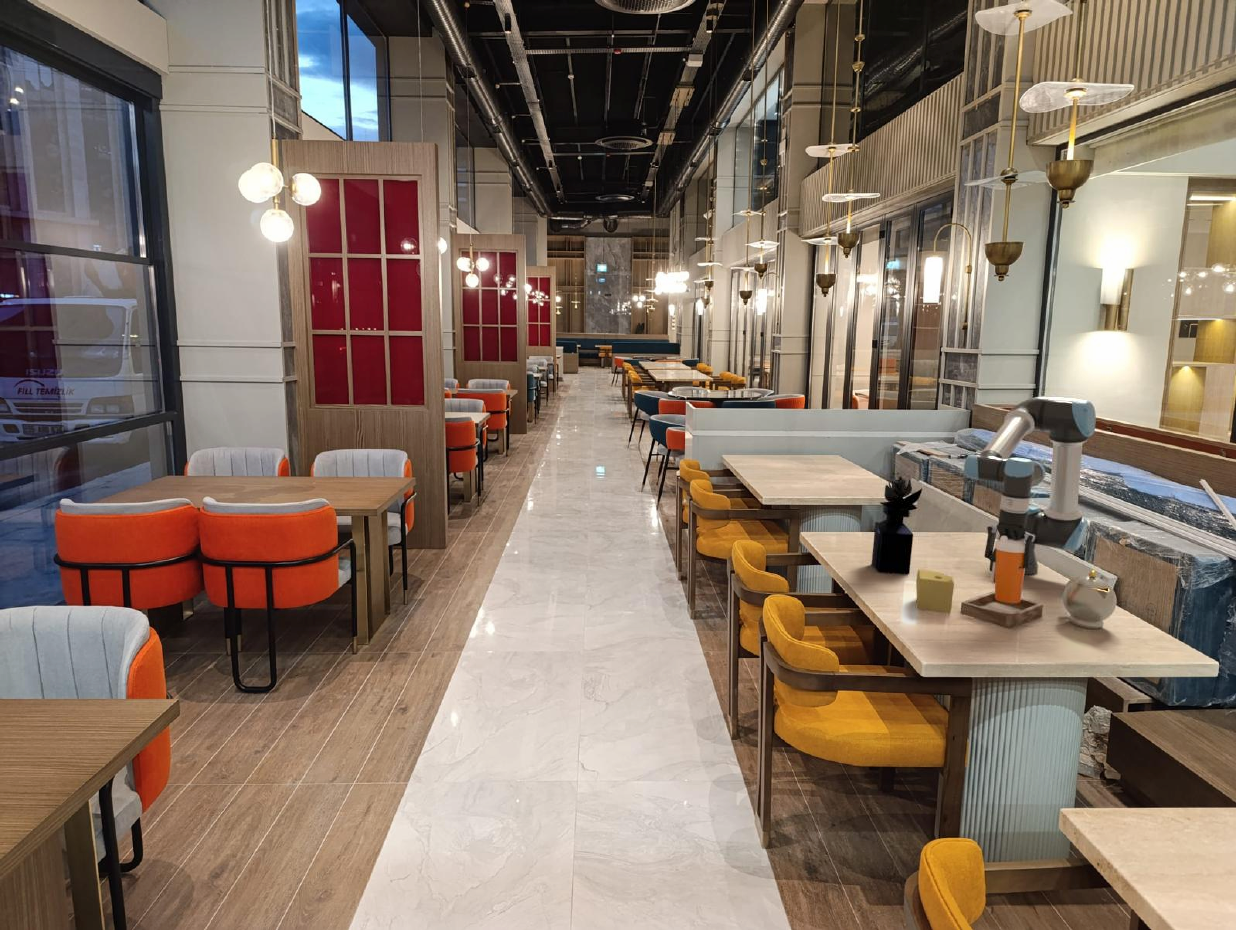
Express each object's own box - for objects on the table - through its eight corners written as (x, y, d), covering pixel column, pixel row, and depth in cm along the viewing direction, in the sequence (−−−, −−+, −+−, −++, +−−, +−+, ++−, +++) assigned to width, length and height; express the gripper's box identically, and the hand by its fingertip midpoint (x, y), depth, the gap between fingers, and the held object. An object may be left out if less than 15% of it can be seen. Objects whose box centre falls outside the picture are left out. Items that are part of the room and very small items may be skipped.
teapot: (1125, 634, 229) (1133, 579, 226) (1080, 633, 228) (1087, 578, 225) (1084, 611, 246) (1091, 560, 244) (1042, 611, 245) (1049, 560, 243)
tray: (993, 601, 253) (994, 590, 252) (1041, 615, 241) (1043, 604, 241) (960, 613, 241) (961, 602, 240) (1009, 629, 229) (1010, 617, 229)
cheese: (949, 603, 250) (953, 572, 249) (951, 614, 240) (955, 582, 239) (914, 598, 254) (917, 568, 252) (915, 609, 244) (918, 577, 242)
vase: (909, 565, 290) (918, 470, 284) (917, 575, 278) (928, 476, 272) (868, 563, 291) (877, 468, 285) (876, 572, 280) (885, 474, 273)
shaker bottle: (1028, 605, 234) (1033, 539, 231) (995, 603, 236) (1000, 537, 233) (1019, 596, 243) (1024, 532, 240) (987, 594, 244) (992, 530, 242)
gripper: (976, 505, 241) (968, 579, 245) (1040, 518, 226) (1030, 596, 230) (989, 502, 245) (980, 575, 249) (1052, 515, 231) (1042, 591, 235)
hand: (1004, 585), depth 240 cm, fingers open, 6 cm apart
